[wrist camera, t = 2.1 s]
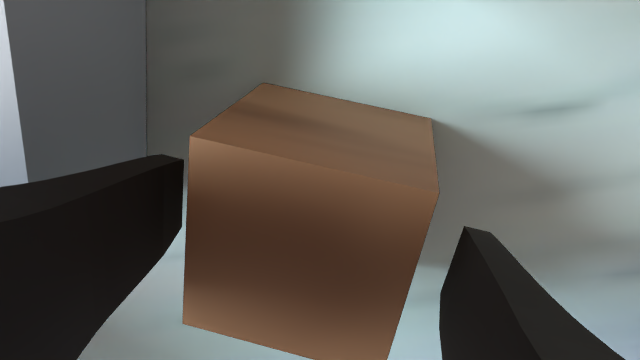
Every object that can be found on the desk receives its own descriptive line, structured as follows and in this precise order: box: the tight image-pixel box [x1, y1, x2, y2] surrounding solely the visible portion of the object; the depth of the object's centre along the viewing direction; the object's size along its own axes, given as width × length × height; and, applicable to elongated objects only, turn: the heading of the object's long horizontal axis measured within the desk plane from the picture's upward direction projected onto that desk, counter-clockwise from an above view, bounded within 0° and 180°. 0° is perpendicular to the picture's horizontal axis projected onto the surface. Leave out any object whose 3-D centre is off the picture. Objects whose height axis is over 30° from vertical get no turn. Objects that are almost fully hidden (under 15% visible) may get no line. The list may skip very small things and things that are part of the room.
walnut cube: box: [182, 83, 439, 360], centre depth 12 cm, size 5×5×5 cm
